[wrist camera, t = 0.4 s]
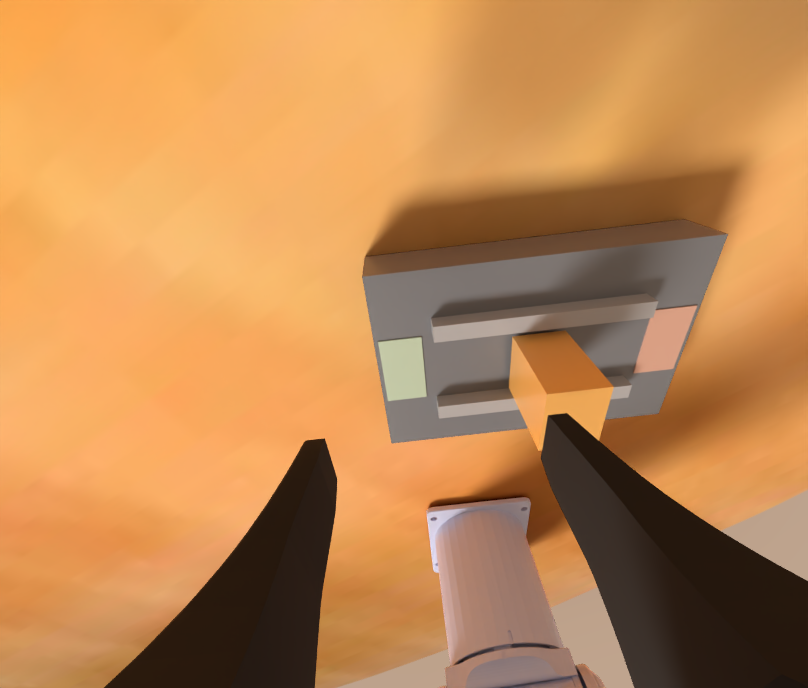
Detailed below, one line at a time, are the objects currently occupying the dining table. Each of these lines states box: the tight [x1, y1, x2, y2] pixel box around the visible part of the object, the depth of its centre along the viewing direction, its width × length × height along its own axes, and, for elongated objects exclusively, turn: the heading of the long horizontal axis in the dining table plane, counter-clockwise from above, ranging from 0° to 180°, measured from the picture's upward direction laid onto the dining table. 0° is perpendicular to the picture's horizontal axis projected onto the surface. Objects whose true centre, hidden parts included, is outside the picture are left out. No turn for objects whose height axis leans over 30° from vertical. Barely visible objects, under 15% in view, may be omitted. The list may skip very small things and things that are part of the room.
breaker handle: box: [509, 330, 614, 451], centre depth 15 cm, size 3×2×4 cm
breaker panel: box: [362, 219, 728, 443], centre depth 18 cm, size 10×15×3 cm, turn 96°
